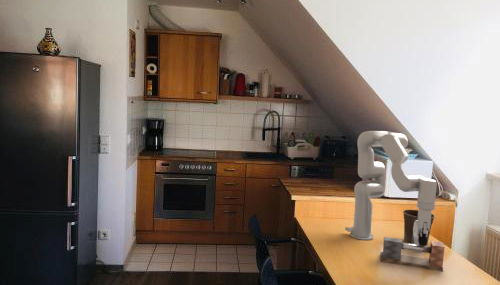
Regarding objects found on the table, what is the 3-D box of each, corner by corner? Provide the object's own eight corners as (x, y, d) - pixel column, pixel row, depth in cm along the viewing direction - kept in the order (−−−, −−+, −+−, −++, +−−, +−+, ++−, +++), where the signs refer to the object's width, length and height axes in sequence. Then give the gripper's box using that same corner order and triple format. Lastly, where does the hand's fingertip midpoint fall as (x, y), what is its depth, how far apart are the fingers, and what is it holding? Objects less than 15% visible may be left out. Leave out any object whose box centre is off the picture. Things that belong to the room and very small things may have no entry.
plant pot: (432, 240, 227) (435, 212, 226) (432, 249, 213) (434, 219, 211) (401, 235, 234) (404, 207, 232) (399, 243, 219) (401, 214, 218)
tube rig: (380, 261, 192) (382, 239, 191) (380, 254, 201) (382, 233, 200) (442, 271, 184) (445, 248, 183) (439, 263, 193) (441, 241, 192)
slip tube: (390, 248, 193) (391, 230, 192) (389, 246, 196) (391, 228, 195) (433, 254, 188) (435, 235, 187) (432, 252, 191) (434, 233, 190)
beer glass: (425, 249, 212) (427, 221, 211) (426, 253, 206) (429, 225, 204) (411, 247, 214) (413, 219, 213) (411, 251, 208) (414, 223, 206)
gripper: (415, 200, 197) (412, 237, 199) (418, 208, 182) (415, 248, 184) (432, 202, 195) (428, 239, 197) (436, 210, 179) (433, 250, 181)
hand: (422, 243), depth 190 cm, fingers closed on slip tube, 3 cm apart
